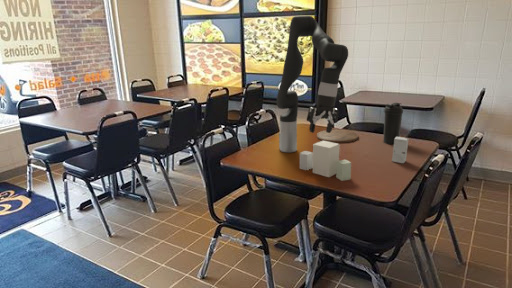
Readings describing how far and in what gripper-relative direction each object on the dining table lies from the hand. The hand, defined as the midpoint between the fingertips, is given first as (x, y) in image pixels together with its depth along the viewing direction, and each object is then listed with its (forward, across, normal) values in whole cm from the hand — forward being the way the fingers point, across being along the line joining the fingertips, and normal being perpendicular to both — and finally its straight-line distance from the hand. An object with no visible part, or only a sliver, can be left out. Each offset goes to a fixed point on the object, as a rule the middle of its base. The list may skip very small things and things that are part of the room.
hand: (320, 132), depth 154 cm
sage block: (+21, -16, +2) cm, 26 cm away
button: (+15, -16, -9) cm, 24 cm away
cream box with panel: (+22, -14, -8) cm, 27 cm away
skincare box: (+15, -54, -1) cm, 56 cm away
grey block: (+23, -9, -17) cm, 30 cm away
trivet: (+18, -56, -52) cm, 78 cm away
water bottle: (+13, -75, -27) cm, 80 cm away
